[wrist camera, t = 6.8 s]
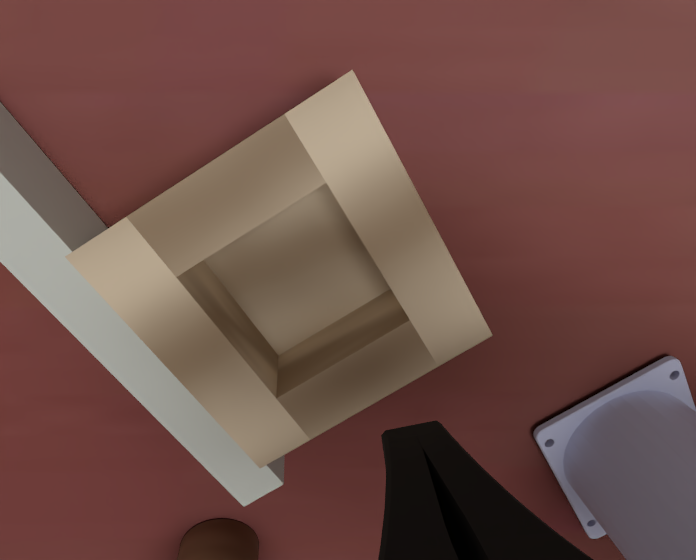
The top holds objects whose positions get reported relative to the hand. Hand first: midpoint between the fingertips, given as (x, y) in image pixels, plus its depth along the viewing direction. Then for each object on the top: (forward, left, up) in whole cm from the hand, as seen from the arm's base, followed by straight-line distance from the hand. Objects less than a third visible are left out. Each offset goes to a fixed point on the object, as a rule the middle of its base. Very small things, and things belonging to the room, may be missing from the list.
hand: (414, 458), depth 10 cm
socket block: (+3, +1, -9) cm, 10 cm away
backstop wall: (+5, +8, -9) cm, 13 cm away
